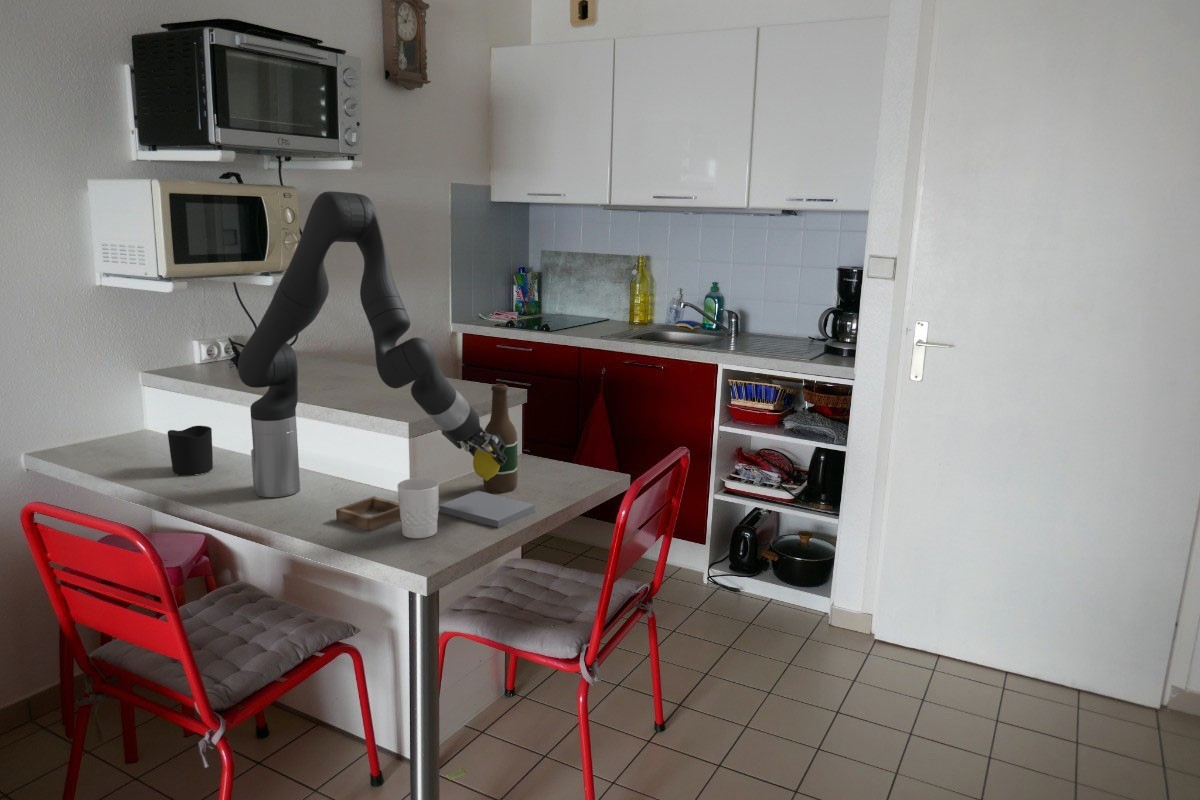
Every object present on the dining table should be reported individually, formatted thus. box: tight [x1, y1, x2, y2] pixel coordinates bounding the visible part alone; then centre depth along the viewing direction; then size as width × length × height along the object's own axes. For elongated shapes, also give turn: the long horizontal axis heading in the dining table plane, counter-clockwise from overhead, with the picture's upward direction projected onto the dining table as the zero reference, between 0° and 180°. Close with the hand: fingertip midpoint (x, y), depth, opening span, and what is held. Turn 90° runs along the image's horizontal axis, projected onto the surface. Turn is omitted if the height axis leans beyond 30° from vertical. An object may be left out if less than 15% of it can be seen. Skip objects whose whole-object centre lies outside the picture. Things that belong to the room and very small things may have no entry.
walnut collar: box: [335, 495, 401, 532], centre depth 179 cm, size 10×10×2 cm
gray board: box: [438, 490, 536, 529], centre depth 185 cm, size 16×12×2 cm
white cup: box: [397, 477, 440, 539], centre depth 172 cm, size 8×8×10 cm
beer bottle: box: [482, 383, 518, 494], centre depth 198 cm, size 8×8×24 cm
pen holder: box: [167, 425, 214, 476], centre depth 208 cm, size 9×9×10 cm
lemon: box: [472, 444, 500, 481], centre depth 182 cm, size 6×6×8 cm
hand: (492, 459), depth 184 cm, fingers closed on lemon, 5 cm apart
